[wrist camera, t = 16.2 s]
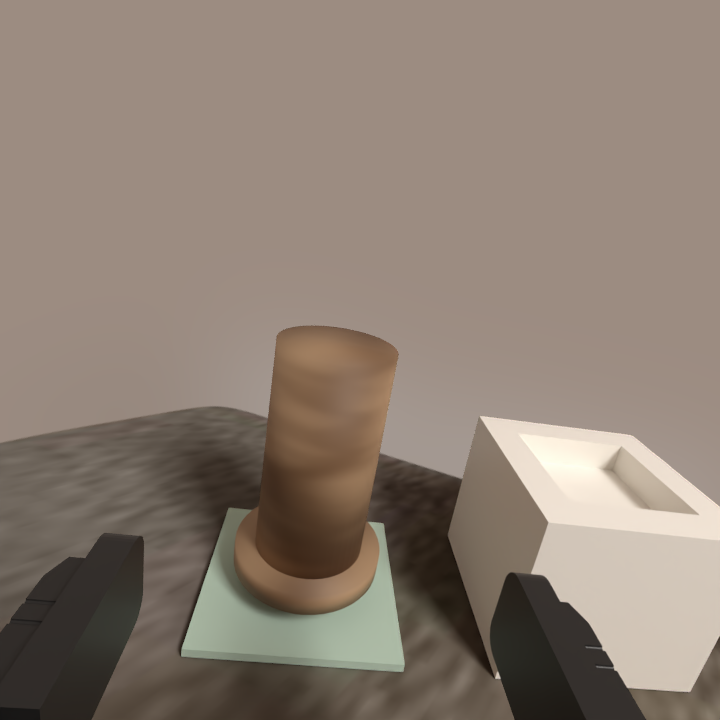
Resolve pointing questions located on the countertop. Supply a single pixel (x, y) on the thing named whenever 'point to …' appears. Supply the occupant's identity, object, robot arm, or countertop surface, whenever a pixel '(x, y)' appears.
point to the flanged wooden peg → (318, 472)
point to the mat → (292, 619)
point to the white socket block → (594, 543)
